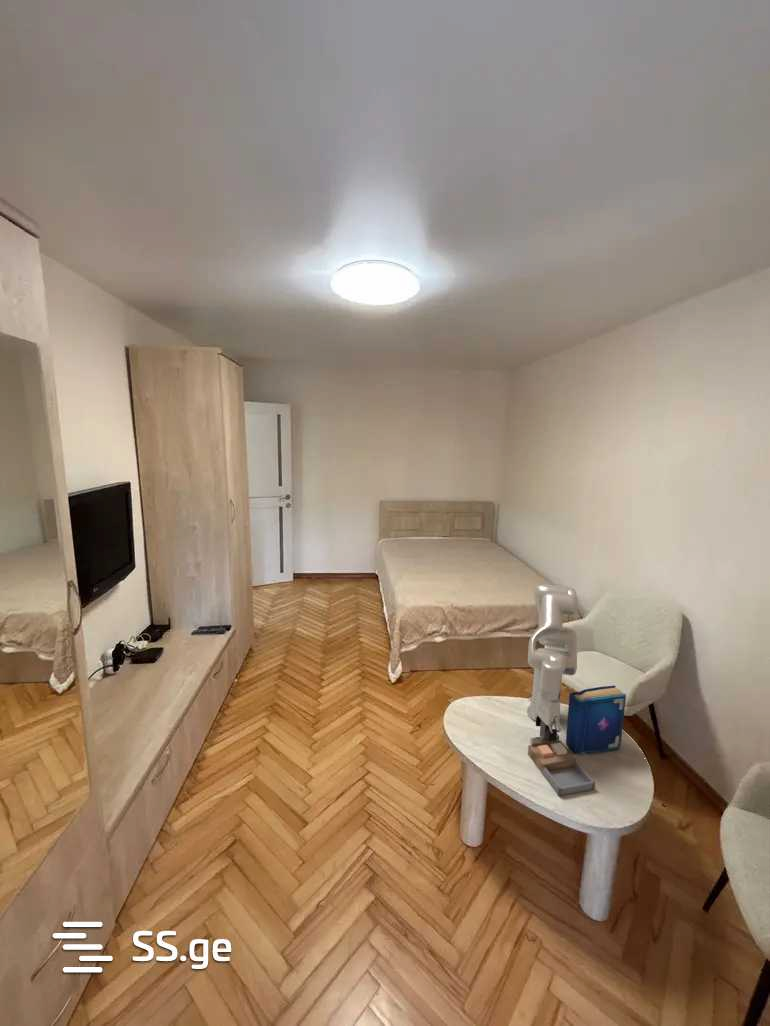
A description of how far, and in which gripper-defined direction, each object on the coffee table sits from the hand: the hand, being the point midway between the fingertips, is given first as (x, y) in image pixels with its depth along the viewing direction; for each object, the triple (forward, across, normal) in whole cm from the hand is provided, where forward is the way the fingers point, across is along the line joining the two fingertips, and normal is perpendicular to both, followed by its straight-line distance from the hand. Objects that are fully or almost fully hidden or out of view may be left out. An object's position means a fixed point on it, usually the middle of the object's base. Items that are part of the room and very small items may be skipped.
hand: (545, 732), depth 165 cm
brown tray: (+9, +5, 0) cm, 10 cm away
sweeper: (+4, 0, 0) cm, 4 cm away
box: (+9, +15, 0) cm, 17 cm away
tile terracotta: (+5, +5, -3) cm, 7 cm away
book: (+9, +2, +20) cm, 22 cm away
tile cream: (+5, +5, +3) cm, 7 cm away
